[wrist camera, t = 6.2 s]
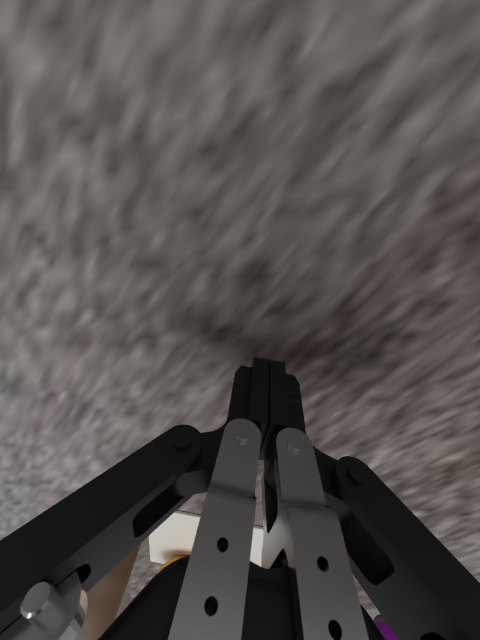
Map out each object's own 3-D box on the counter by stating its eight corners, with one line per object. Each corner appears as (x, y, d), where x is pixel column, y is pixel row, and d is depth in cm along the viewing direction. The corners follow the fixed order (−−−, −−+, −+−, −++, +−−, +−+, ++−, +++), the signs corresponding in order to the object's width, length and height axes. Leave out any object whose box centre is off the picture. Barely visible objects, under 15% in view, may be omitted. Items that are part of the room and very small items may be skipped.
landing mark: (147, 505, 24) (146, 507, 24) (295, 533, 24) (295, 535, 24) (151, 559, 32) (150, 561, 32) (264, 580, 32) (264, 583, 31)
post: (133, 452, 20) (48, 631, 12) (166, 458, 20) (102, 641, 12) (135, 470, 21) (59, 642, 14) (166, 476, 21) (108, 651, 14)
